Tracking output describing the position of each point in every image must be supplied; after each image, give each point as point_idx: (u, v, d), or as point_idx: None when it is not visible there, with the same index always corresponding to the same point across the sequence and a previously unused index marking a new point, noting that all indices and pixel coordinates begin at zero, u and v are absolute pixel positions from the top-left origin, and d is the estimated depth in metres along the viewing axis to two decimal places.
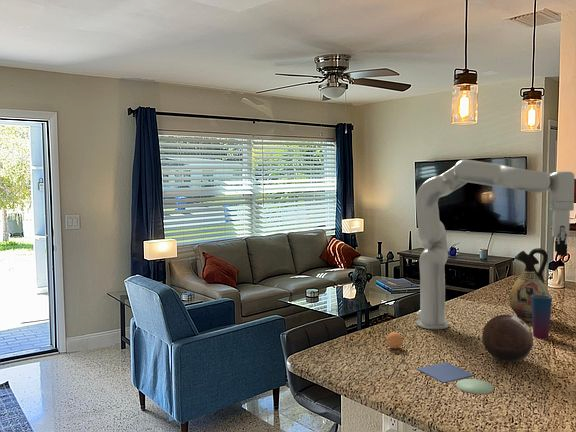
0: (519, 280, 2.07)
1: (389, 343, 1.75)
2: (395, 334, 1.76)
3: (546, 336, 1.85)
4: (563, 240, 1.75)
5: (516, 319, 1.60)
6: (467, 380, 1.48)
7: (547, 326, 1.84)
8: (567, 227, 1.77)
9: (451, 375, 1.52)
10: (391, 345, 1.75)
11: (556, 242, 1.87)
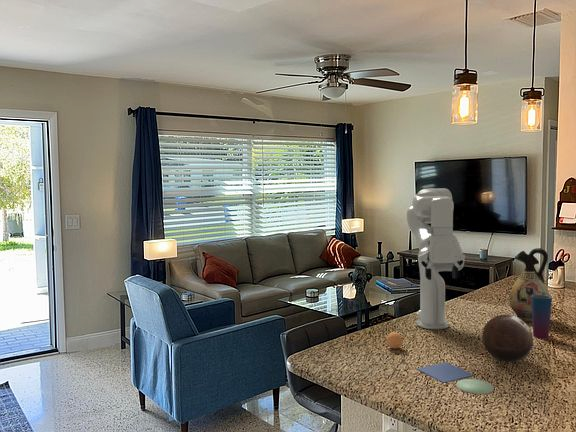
0: (519, 280, 2.07)
1: (389, 343, 1.75)
2: (395, 334, 1.76)
3: (546, 336, 1.85)
4: None
5: (516, 319, 1.60)
6: (467, 380, 1.48)
7: (547, 326, 1.84)
8: None
9: (451, 375, 1.52)
10: (391, 345, 1.75)
11: (430, 270, 1.82)
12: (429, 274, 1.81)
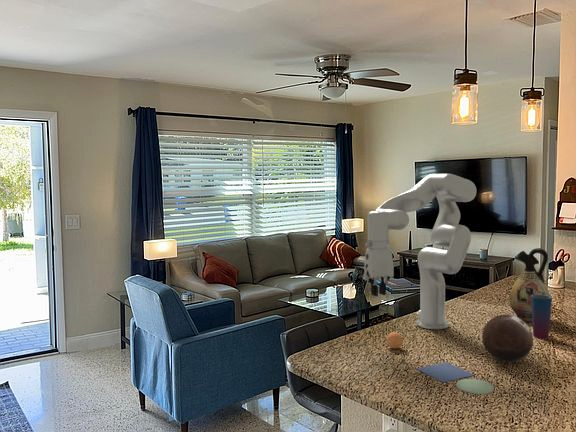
0: (519, 280, 2.07)
1: (389, 343, 1.75)
2: (395, 334, 1.76)
3: (546, 336, 1.85)
4: None
5: (516, 319, 1.60)
6: (467, 380, 1.48)
7: (547, 326, 1.84)
8: None
9: (451, 375, 1.52)
10: (391, 345, 1.75)
11: None
12: (376, 290, 1.82)
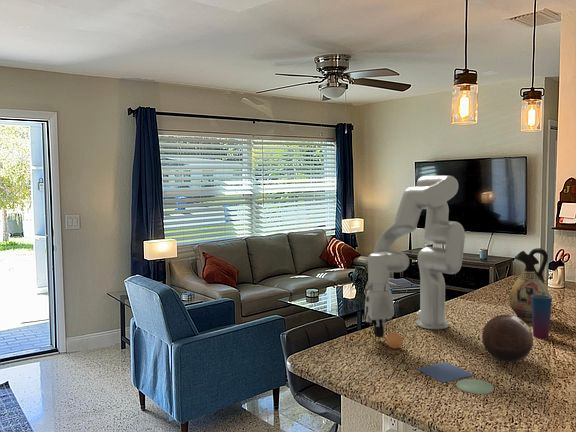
0: (519, 280, 2.07)
1: (389, 343, 1.75)
2: (395, 334, 1.76)
3: (546, 336, 1.85)
4: None
5: (516, 319, 1.60)
6: (467, 380, 1.48)
7: (547, 326, 1.84)
8: None
9: (451, 375, 1.52)
10: (391, 345, 1.75)
11: None
12: (379, 332, 1.84)
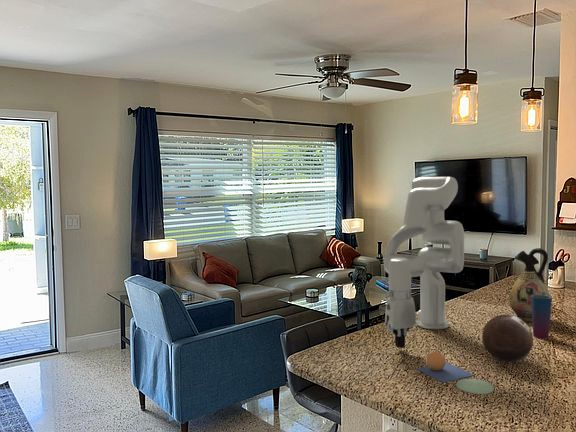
0: (519, 280, 2.07)
1: (428, 364, 1.56)
2: (440, 366, 1.54)
3: (546, 336, 1.85)
4: None
5: (516, 319, 1.60)
6: (467, 380, 1.48)
7: (547, 326, 1.84)
8: None
9: (451, 375, 1.52)
10: (428, 365, 1.57)
11: None
12: (401, 342, 1.73)
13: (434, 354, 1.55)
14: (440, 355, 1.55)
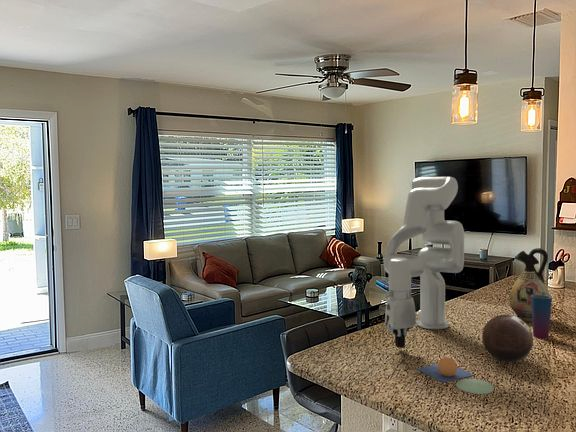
0: (519, 280, 2.07)
1: (439, 365, 1.51)
2: None
3: (546, 336, 1.85)
4: None
5: (516, 319, 1.60)
6: (467, 380, 1.48)
7: (547, 326, 1.84)
8: None
9: None
10: (439, 362, 1.52)
11: None
12: (401, 342, 1.73)
13: (449, 374, 1.49)
14: (452, 375, 1.50)
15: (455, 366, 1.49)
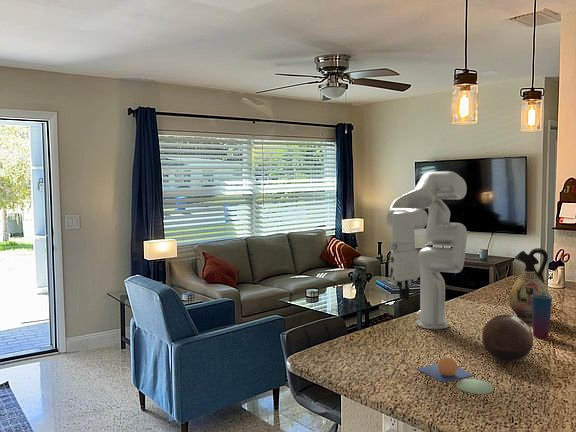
0: (519, 280, 2.07)
1: (439, 365, 1.51)
2: None
3: (546, 336, 1.85)
4: None
5: (516, 319, 1.60)
6: (467, 380, 1.48)
7: (547, 326, 1.84)
8: None
9: None
10: (439, 362, 1.52)
11: None
12: (405, 294, 1.74)
13: (449, 374, 1.49)
14: (452, 375, 1.50)
15: (455, 366, 1.49)
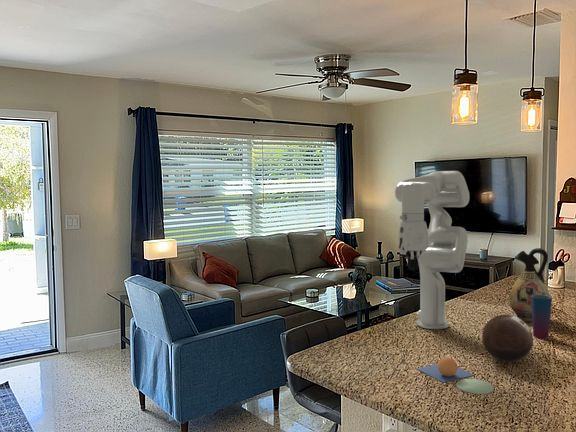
0: (519, 280, 2.07)
1: (439, 365, 1.51)
2: None
3: (546, 336, 1.85)
4: None
5: (516, 319, 1.60)
6: (467, 380, 1.48)
7: (547, 326, 1.84)
8: None
9: None
10: (439, 362, 1.52)
11: None
12: (414, 264, 1.77)
13: (449, 374, 1.49)
14: (452, 375, 1.50)
15: (455, 366, 1.49)
